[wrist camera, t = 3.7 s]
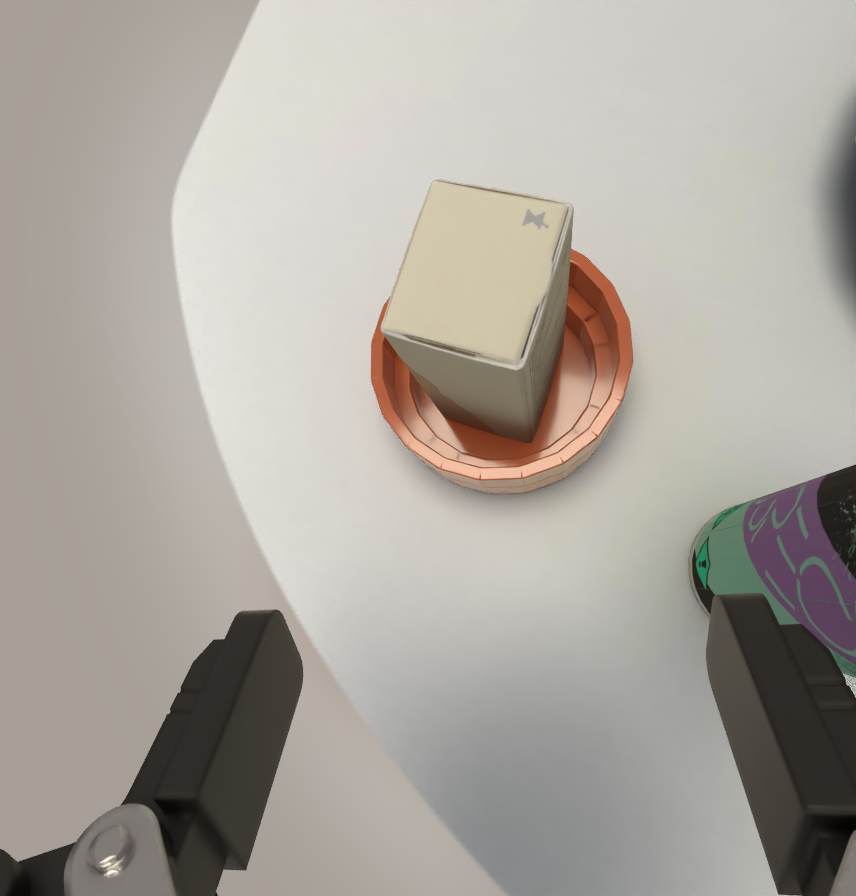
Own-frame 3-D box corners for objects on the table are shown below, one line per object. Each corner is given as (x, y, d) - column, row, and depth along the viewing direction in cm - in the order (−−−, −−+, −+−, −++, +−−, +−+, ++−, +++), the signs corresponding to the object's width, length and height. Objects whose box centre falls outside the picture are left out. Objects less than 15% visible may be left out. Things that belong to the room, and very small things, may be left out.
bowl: (369, 461, 28) (338, 441, 24) (432, 265, 30) (413, 213, 25) (585, 522, 26) (593, 512, 22) (642, 307, 27) (661, 257, 23)
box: (476, 318, 28) (434, 164, 18) (567, 340, 27) (581, 192, 17) (439, 424, 28) (373, 330, 17) (532, 451, 27) (523, 370, 16)
